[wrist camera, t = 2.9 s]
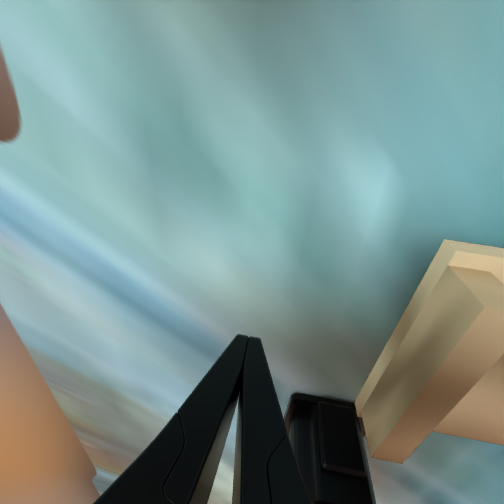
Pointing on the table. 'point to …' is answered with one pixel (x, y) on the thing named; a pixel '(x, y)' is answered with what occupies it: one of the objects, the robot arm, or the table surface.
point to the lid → (442, 358)
